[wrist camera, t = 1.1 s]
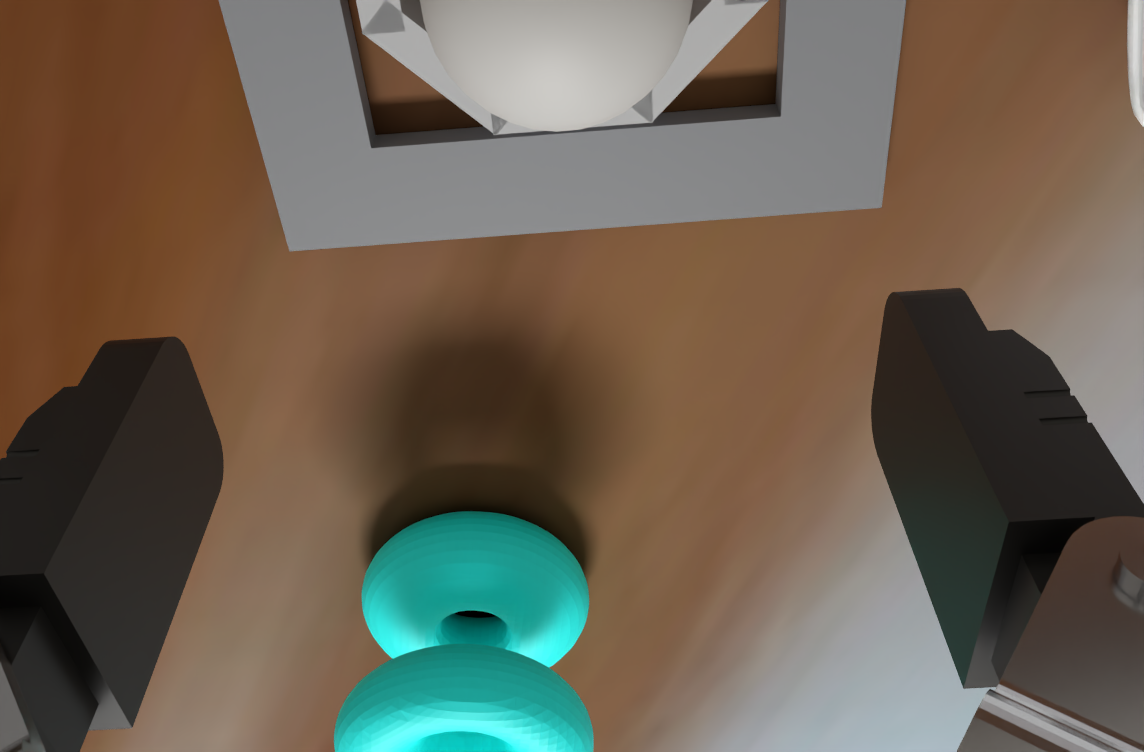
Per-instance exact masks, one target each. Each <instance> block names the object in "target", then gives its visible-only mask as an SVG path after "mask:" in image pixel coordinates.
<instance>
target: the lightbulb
mask: <svg viewBox="0 0 1144 752" xmlns="http://www.w3.org/2000/svg"><path fill="white" fill-rule="evenodd" d="M692 3H693V0H420V4H421V9H422V15H423V21H424V24H425V28H426V31H427V33H428V36H429V39H430V41H431V44H432V46H433V49H434V52H435V54H436V56H437V57H438V59H439V60H440V62H441V64H442V65H443V67H444V69H445V70H446V72H447V73H448V75H449V76H450V77H451V78H452V80H453V81H454V82H455V83H456V84H457V85H458V86H459V87H460V88H461V89H462V91H463V92H464V93H465V94H466V95H467V96H469V97H470V98H471V99H472V100H474V101H475V102H476V103H478V104H479V105H480V106H482V107H483V108H484V109H486V110H487V111H488V112H490V113H492V114H494V115H496V116H498V117H500V118H502V119H504V120H506V121H508V122H510V123H513V124H516V125H520V126H523V127H526V128H530V129H534V130H544V131H555V132H559V131H570V130H580V129H584V128H587V127H591V126H595V125H598V124H602V123H604V122H606V121H608V120H610V119H612V118H614V117H616V116H618V115H620V114H622V113H624V112H626V111H627V110H628V109H630V108H631V107H632V106H633V105H635V104H636V103H637V102H639V101H640V100H641V99H643V98H644V97H645V96H646V95H648V93H649V92H650V91H651V90H652V89H653V88H654V87H655V86H656V85H657V84H658V82H659V81H660V80H661V79H662V78H663V77H664V76H665V74H666V72H667V71H668V69H669V68H670V66H671V64H672V63H673V61H674V59H675V58H676V56H677V55H678V52H679V49H680V47H681V44H682V42H683V39H684V36H685V34H686V31H687V28H688V25H689V20H690V15H691V9H692Z"/></svg>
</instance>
